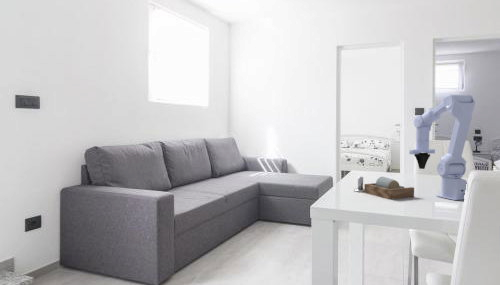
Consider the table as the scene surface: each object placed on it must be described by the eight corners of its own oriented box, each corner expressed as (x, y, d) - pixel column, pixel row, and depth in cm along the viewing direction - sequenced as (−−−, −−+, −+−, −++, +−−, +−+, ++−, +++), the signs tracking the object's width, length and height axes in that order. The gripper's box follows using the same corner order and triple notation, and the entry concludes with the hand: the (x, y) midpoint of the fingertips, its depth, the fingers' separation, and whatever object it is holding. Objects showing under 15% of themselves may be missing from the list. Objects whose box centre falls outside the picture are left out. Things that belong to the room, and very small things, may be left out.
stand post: (369, 191, 170) (370, 177, 170) (359, 192, 168) (359, 178, 168) (361, 189, 176) (361, 175, 176) (351, 190, 174) (351, 176, 173)
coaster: (408, 188, 178) (408, 187, 178) (394, 190, 174) (394, 188, 174) (395, 185, 186) (395, 184, 186) (381, 187, 182) (381, 185, 182)
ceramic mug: (389, 197, 158) (389, 179, 158) (374, 193, 166) (375, 176, 165) (405, 195, 163) (406, 178, 163) (391, 192, 171) (391, 175, 170)
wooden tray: (414, 196, 158) (414, 187, 158) (389, 199, 153) (390, 190, 153) (387, 190, 173) (387, 182, 173) (364, 192, 168) (364, 184, 168)
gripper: (426, 140, 182) (426, 167, 183) (404, 140, 177) (404, 168, 178) (438, 140, 176) (438, 168, 177) (416, 141, 170) (415, 170, 171)
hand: (421, 168), depth 177 cm, fingers closed
